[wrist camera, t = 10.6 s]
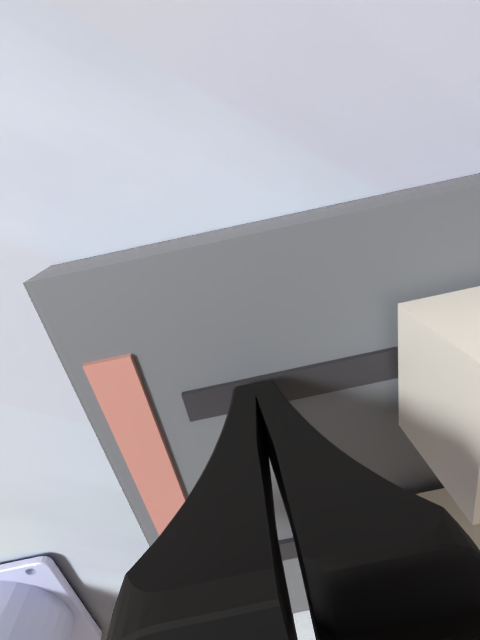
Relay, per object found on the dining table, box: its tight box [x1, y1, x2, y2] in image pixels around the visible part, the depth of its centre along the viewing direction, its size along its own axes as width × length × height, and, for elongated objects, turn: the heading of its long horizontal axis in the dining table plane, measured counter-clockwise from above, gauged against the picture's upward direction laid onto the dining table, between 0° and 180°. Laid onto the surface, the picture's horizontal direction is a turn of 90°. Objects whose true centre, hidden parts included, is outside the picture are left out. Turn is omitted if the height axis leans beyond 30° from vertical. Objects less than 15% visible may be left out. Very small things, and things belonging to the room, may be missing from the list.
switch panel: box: [23, 173, 480, 613], centre depth 15 cm, size 18×20×2 cm
